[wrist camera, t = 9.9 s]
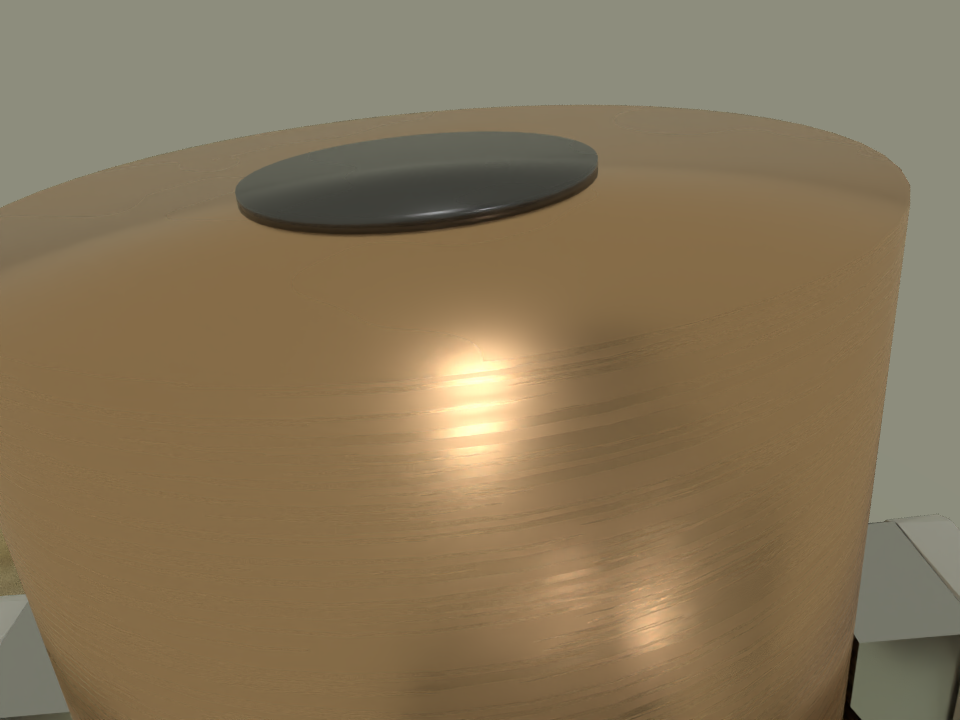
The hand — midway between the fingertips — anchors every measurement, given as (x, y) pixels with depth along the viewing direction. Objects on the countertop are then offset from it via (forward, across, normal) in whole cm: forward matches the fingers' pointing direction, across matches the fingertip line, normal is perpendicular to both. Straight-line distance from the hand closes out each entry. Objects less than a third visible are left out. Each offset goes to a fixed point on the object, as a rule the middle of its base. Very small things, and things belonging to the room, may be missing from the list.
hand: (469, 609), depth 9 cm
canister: (-1, 0, +6) cm, 6 cm away
